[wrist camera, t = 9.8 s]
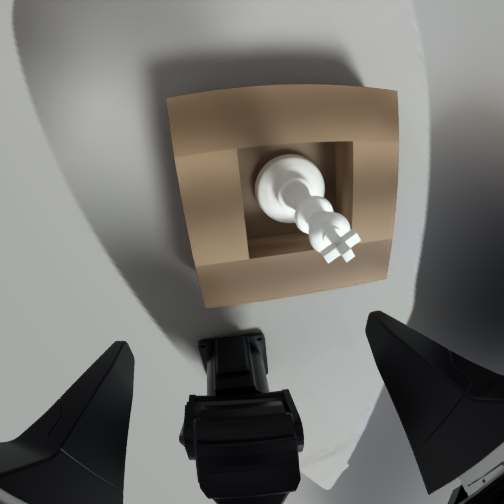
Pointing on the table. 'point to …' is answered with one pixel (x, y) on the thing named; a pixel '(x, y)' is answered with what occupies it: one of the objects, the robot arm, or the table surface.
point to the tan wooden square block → (252, 161)
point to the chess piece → (304, 205)
